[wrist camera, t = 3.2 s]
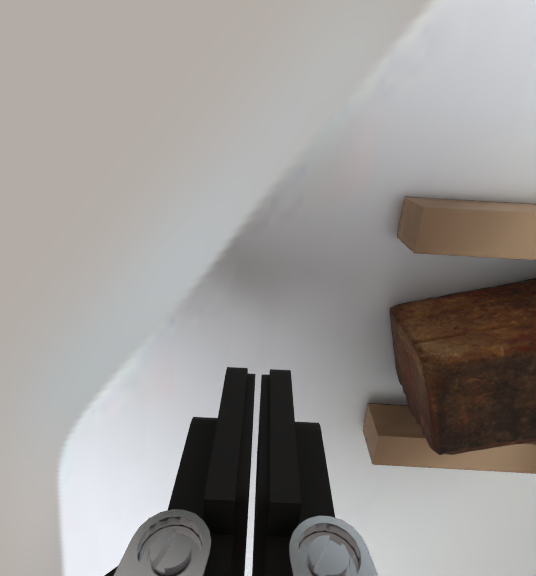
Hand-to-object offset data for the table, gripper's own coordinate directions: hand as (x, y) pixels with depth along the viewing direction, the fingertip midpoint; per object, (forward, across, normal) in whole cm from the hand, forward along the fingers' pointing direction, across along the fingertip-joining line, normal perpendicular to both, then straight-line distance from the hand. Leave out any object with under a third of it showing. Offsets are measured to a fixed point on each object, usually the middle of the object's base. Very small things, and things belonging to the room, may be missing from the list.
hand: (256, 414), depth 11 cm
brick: (+6, -11, 0) cm, 12 cm away
